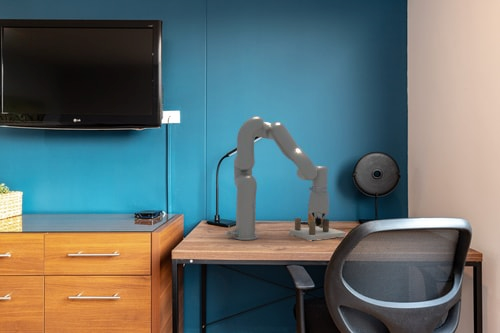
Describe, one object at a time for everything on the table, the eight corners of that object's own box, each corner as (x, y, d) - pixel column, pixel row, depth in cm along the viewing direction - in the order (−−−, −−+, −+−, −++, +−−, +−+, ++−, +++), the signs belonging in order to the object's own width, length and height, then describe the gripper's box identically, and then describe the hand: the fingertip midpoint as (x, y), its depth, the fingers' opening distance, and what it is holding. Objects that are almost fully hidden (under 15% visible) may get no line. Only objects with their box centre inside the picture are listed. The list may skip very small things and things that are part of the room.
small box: (307, 224, 206) (308, 203, 206) (317, 224, 208) (317, 203, 208) (314, 227, 198) (314, 205, 198) (323, 227, 200) (324, 204, 200)
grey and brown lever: (323, 227, 184) (324, 216, 184) (329, 228, 183) (329, 216, 183) (322, 231, 174) (322, 219, 174) (328, 232, 173) (328, 220, 173)
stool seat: (311, 241, 164) (311, 223, 164) (289, 233, 180) (289, 217, 180) (345, 237, 175) (345, 220, 174) (322, 230, 190) (322, 215, 190)
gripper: (303, 189, 174) (302, 225, 175) (334, 191, 170) (332, 228, 171) (305, 188, 181) (304, 223, 182) (334, 190, 177) (333, 225, 178)
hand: (318, 225), depth 176 cm, fingers closed
